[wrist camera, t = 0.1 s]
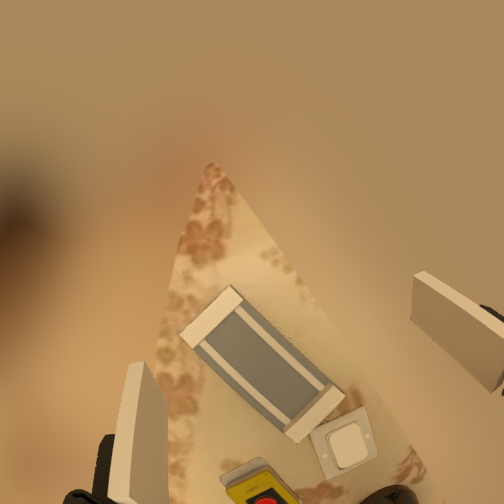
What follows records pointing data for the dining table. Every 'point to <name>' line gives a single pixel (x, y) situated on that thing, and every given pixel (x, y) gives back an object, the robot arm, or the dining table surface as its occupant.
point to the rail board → (262, 365)
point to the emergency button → (257, 485)
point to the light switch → (344, 443)
